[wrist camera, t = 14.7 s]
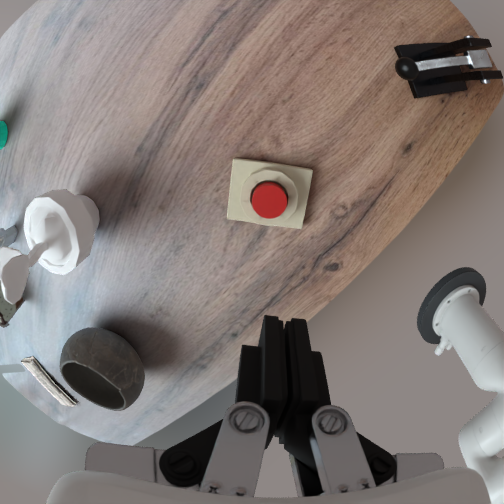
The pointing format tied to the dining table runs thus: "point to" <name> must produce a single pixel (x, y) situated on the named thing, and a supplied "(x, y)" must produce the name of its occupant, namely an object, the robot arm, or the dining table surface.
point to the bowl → (102, 368)
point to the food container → (7, 309)
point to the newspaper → (47, 381)
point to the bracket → (446, 76)
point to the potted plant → (50, 239)
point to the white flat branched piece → (8, 236)
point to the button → (269, 200)
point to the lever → (442, 63)
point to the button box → (258, 172)
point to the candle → (3, 134)
